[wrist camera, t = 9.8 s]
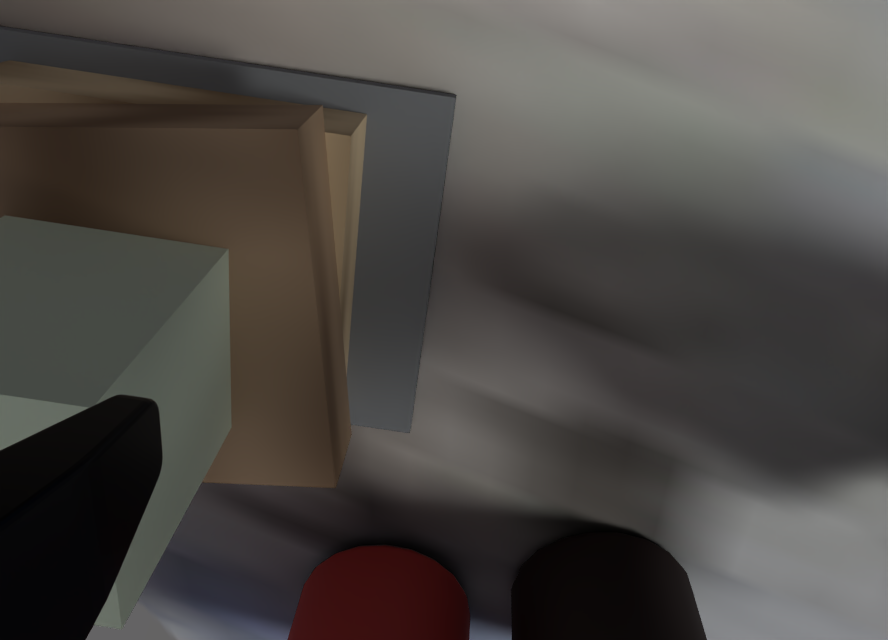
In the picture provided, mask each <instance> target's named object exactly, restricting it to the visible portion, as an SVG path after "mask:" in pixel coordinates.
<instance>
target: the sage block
mask: <svg viewBox="0 0 888 640" xmlns="http://www.w3.org/2000/svg"><path fill="white" fill-rule="evenodd" d="M119 394H124V395H131V396H138V397H145V398H150V399H153V400H154V401H155V402H156V403H157V405H158V408H159V414H160V427H161V439H162V452H163V461H162V468H161V472H160V476H159V478H158V481H157V483H156V486H155V488H154V490H153V493H152V495H151V498H150V500H149V502H148V505H147V507H146V509H145V512H144V514H143V517H142V519H141V521H140V524H139V526H138V528H137V531H136V533H135V536H134V538H133V540H132V543H131V545H130V548H129V550H128V552H127V555H126V557H125V559H124V562H123V564H122V567H121V569H120V571H119V574H118V576H117V578H116V581H115V583H114V585H113V587H112V590H111V592H110V594H109V596H108V599H107V601H106V603H105V604H104V606H103V608H102V610H101V612H100V614H99V616H98V618H97V620H96V622H95V623H94V625H96V626H102V627H109V628H116V629H123V627H124V625H125V623H126V621H127V620H128V618H129V616H130V614H131V612H132V610H133V609H134V607H135V605H136V603H137V601H138V599H139V597H140V596H141V594H142V592H143V590H144V588H145V586H146V585H147V583H148V581H149V579H150V577H151V575H152V573H153V572H154V570H155V568H156V566H157V564H158V562H159V561H160V559H161V557H162V555H163V553H164V551H165V549H166V548H167V546H168V544H169V542H170V540H171V538H172V537H173V535H174V533H175V531H176V529H177V527H178V525H179V524H180V522H181V520H182V518H183V516H184V514H185V512H186V511H187V509H188V507H189V505H190V503H191V501H192V500H193V498H194V496H195V494H196V492H197V490H198V488H199V487H200V485H201V483H202V481H203V479H204V477H205V476H206V474H207V472H208V470H209V468H210V466H211V464H212V463H213V461H214V459H215V457H216V455H217V453H218V452H219V450H220V448H221V446H222V444H223V442H224V440H225V439H226V437H227V435H228V433H229V431H230V429H231V427H232V424H231V365H230V307H229V249H225V248H219V247H212V246H206V245H199V244H192V243H186V242H179V241H172V240H166V239H159V238H152V237H146V236H139V235H132V234H126V233H119V232H112V231H106V230H99V229H93V228H86V227H79V226H73V225H66V224H59V223H53V222H46V221H39V220H33V219H26V218H19V217H13V216H6V215H5V216H3V217H1V218H0V450H2V449H4V448H6V447H8V446H10V445H12V444H15V443H17V442H19V441H21V440H23V439H25V438H27V437H29V436H31V435H33V434H35V433H37V432H40V431H42V430H44V429H46V428H48V427H50V426H52V425H54V424H56V423H58V422H60V421H62V420H64V419H67V418H69V417H71V416H73V415H75V414H77V413H79V412H81V411H83V410H85V409H87V408H89V407H92V406H94V405H96V404H98V403H100V402H102V401H104V400H106V399H108V398H110V397H113V396H115V395H119Z"/></svg>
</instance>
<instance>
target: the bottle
mask: <svg viewBox="0 0 888 640" xmlns="http://www.w3.org/2000/svg"><path fill="white" fill-rule="evenodd" d="M511 610H512V640H707V638H706V635H705V632H704V628H703V625H702V621H701V618H700V615H699V611H698V608H697V604H696V601H695V598H694V594H693V591H692V588H691V585H690V582H689V578H688V575H687V573H686V571H685V570H684V569H683V567H682V566H681V565H680V564H679V563H678V562H677V561H676V560H675V558H674V557H673V556H672V555H671V554H670V553H669V552H668V551H666V550H664V549H662V548H661V547H659V546H657V545H655V544H654V543H652V542H650V541H648V540H646V539H642V538H638V537H634V536H630V535H626V534H622V533H606V532H589V533H584V534H580V535H575V536H571V537H566V538H562V539H560V540H558V541H556V542H554V543H552V544H550V545H548V546H546V547H544V548H542V549H540V550H538V551H537V552H536V553H535V554H534V555H533V556H532V557H531V558H530V559H529V560H528V561H526V562H525V563H524V564H523V565H522V566H521V568H520V570H519V572H518V575H517V577H516V579H515V581H514V583H513V586H512V589H511Z"/></svg>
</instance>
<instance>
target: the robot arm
mask: <svg viewBox="0 0 888 640" xmlns="http://www.w3.org/2000/svg"><path fill="white" fill-rule="evenodd" d="M162 461H163V452H162V439H161V427H160V414H159V408H158V405H157V403H156V402H155V401H154V400H153V399H150V398H145V397H138V396H131V395H124V394H119V395H115V396H113V397H110V398H108V399H106V400H104V401H102V402H100V403H98V404H96V405H94V406H92V407H89V408H87V409H85V410H83V411H81V412H79V413H77V414H75V415H73V416H71V417H69V418H67V419H64V420H62V421H60V422H58V423H56V424H54V425H52V426H50V427H48V428H46V429H44V430H42V431H40V432H37V433H35V434H33V435H31V436H29V437H27V438H25V439H23V440H21V441H19V442H17V443H15V444H12V445H10V446H8V447H6V448H4V449H2V450H0V640H85V639H86V638H87V636H88V634H89V632H90V630H91V629H92V627H93V625H94V623H95V622H96V620H97V618H98V616H99V614H100V612H101V610H102V608H103V606H104V604H105V603H106V601H107V599H108V596H109V594H110V592H111V590H112V587H113V585H114V583H115V581H116V578H117V576H118V574H119V571H120V569H121V567H122V564H123V562H124V559H125V557H126V555H127V552H128V550H129V548H130V545H131V543H132V540H133V538H134V536H135V533H136V531H137V528H138V526H139V524H140V521H141V519H142V517H143V514H144V512H145V509H146V507H147V505H148V502H149V500H150V498H151V495H152V493H153V490H154V488H155V486H156V483H157V481H158V478H159V476H160V472H161V468H162Z"/></svg>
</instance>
